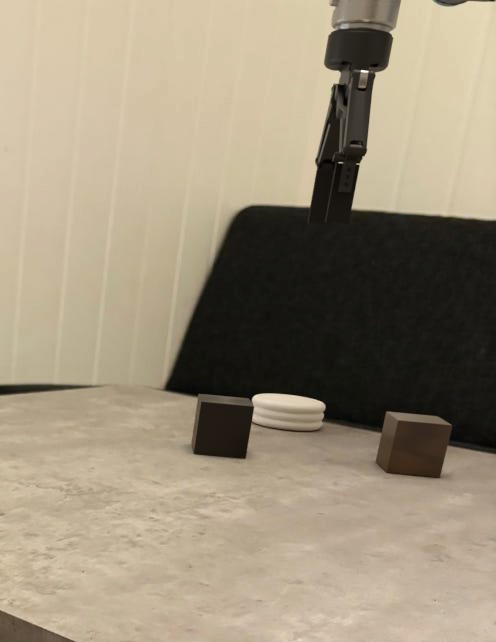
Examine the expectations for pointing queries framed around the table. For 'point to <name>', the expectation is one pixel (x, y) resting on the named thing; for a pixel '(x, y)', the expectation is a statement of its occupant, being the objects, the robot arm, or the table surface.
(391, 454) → the dark brown wooden cube
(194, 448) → the dark brown cube
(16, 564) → the table surface
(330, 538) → the table surface
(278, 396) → the white stacked disc
